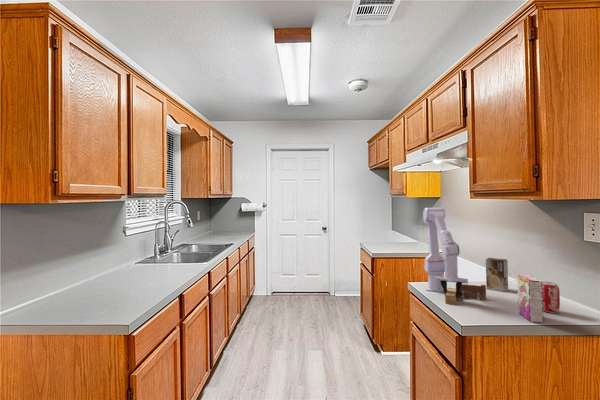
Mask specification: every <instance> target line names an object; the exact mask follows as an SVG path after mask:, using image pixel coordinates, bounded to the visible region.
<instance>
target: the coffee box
mask: <svg viewBox="0 0 600 400" xmlns="http://www.w3.org/2000/svg"><path fill="white" fill-rule="evenodd" d="M508 271H509V270H508V259H504V258H495V257H488V258H486V259H485V278H486V280H485V281H486V283H485V285H486V290H491V291H497V292H505V293H506V292H507V291H508V290H509V272H508Z"/></svg>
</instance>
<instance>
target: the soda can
mask: <svg viewBox="0 0 600 400" xmlns="http://www.w3.org/2000/svg"><path fill="white" fill-rule="evenodd" d="M542 299H543V312H544V311H545V312H544V313H547V312H549V313H548V314H557V313H559V312H560V309H561V299H560V287H559V286H558V283H556V282H552V281H542Z"/></svg>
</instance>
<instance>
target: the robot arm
mask: <svg viewBox="0 0 600 400" xmlns="http://www.w3.org/2000/svg"><path fill="white" fill-rule="evenodd" d="M422 215H423V216H422V217H423V223H424V224H425V225H426V230H427V240H428V251H429V255H427V256H426V257H425V258H424V265H423V267H424V271H425V273H427V282H428V283H427V285H428V286H427V288H426V291H430V292H440V293H442V292H444V295H446V293H447V290H448V283H455V289H456V298H457V299H458V298H459V296H458V293H459V290H460V287H461V285H462V284H466V285H469V278H461V277H458V276H459V275H458V273H459V272H458V256H459V255H460V253H461V250H460V246H459V244H458V243H457V242H456V241H455V240H454V238H453V236H452V233H451V232H450V231H449V230H448V229H447V226H446V221H445V218H446V211H445V208H444V207H425V208H424V209H423V213H422ZM438 232H439V234H438ZM439 241H440V243H441V252H442V255H440V248H439ZM443 274H444V276H443Z"/></svg>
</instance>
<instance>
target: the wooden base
mask: <svg viewBox="0 0 600 400" xmlns="http://www.w3.org/2000/svg"><path fill="white" fill-rule="evenodd" d="M459 297H461V298H462V299H465V298H471V299H476V301H480V300H486V299H487V285H486V284H481V285H475V284H465V283H462V285H461V287H460V290H459V293H458V298H459Z"/></svg>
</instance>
